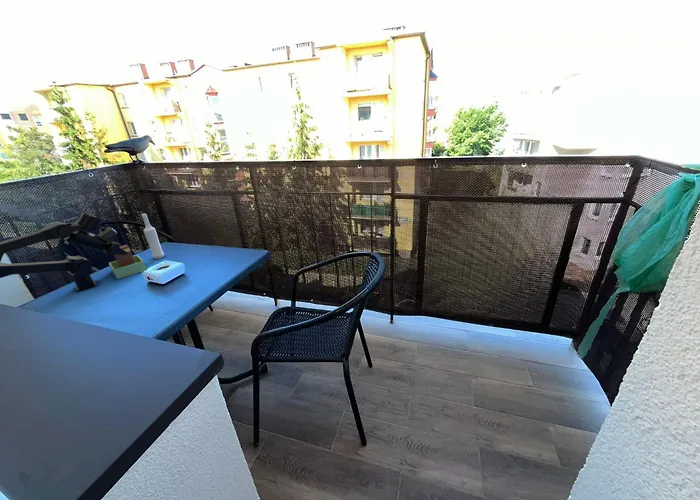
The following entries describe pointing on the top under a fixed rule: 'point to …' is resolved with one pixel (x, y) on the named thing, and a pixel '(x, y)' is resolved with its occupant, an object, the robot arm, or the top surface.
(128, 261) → the chocolate bar
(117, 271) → the green open tray
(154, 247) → the bottle
